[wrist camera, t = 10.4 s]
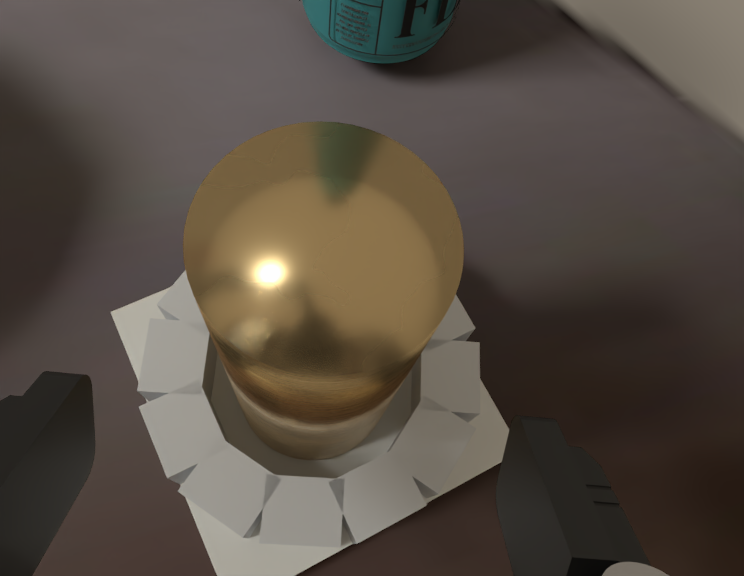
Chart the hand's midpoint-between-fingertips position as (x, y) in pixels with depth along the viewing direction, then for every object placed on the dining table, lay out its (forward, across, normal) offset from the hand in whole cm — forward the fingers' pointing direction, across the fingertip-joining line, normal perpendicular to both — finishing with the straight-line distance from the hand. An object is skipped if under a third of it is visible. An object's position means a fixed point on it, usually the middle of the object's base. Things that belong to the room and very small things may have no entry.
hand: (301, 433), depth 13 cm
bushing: (+8, 0, +4) cm, 9 cm away
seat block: (+9, 0, +5) cm, 10 cm away
